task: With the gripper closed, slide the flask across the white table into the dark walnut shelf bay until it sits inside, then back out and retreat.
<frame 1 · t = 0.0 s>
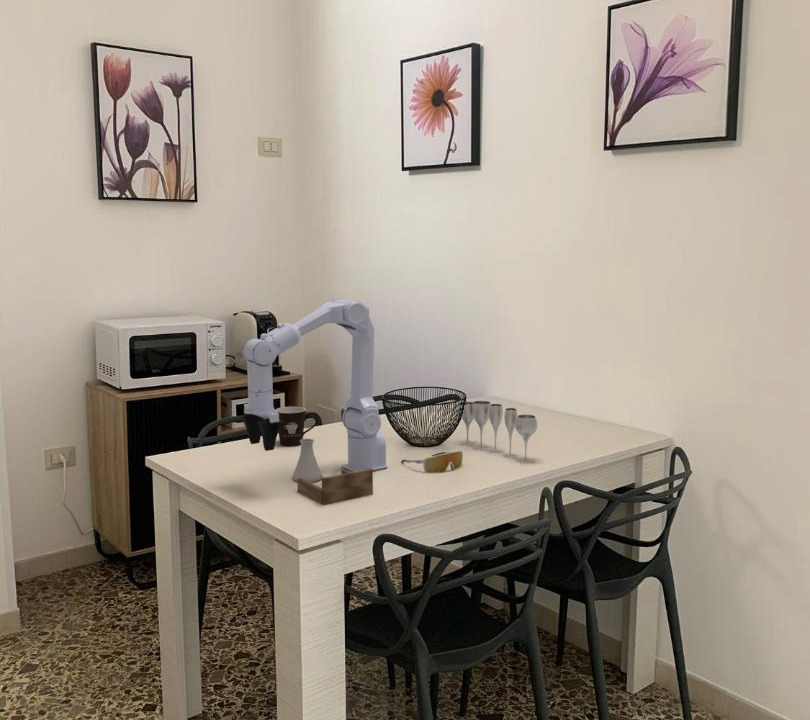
hand: (262, 446, 196), 10 cm above the table, fingers open, 7 cm apart
goblet set: (496, 452, 230), on the table
coffee mug: (296, 444, 238), on the table
shelf bay: (334, 492, 194), on the table
flask: (307, 480, 205), on the table
sunglasses: (433, 466, 217), on the table
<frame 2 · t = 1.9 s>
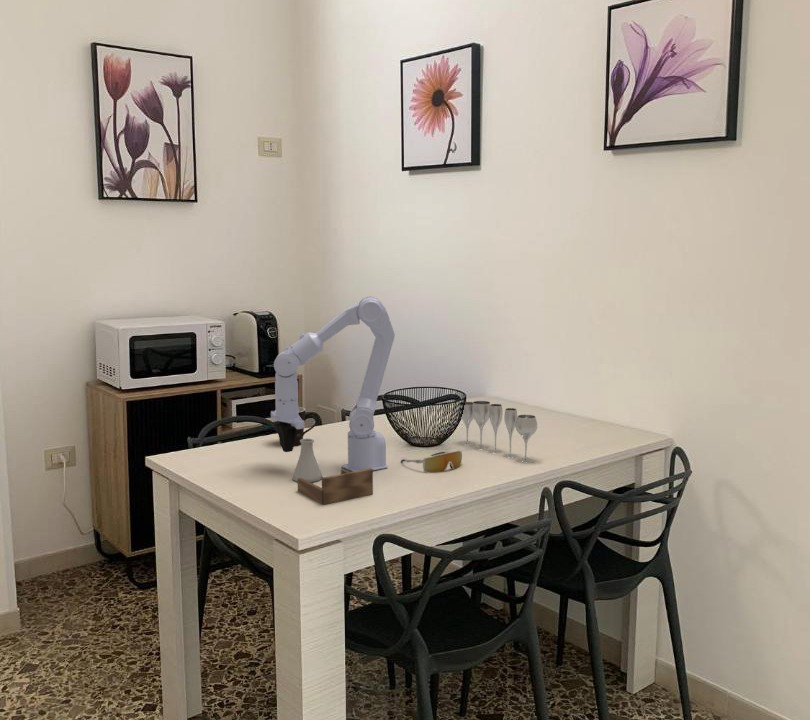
hand: (287, 451, 212), 5 cm above the table, fingers closed
nothing on the table moved.
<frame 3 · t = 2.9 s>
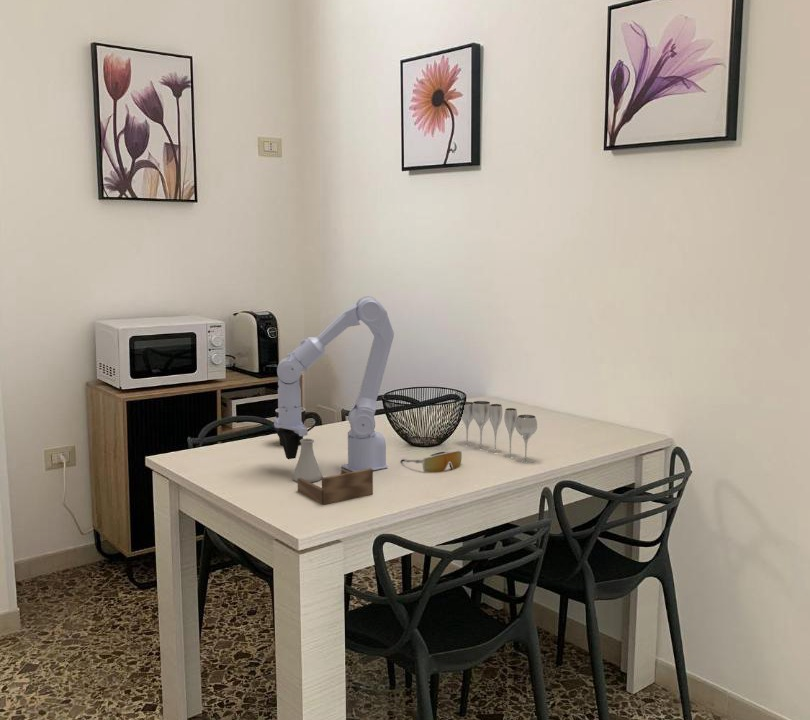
hand: (291, 458, 211), 3 cm above the table, fingers closed
nothing on the table moved.
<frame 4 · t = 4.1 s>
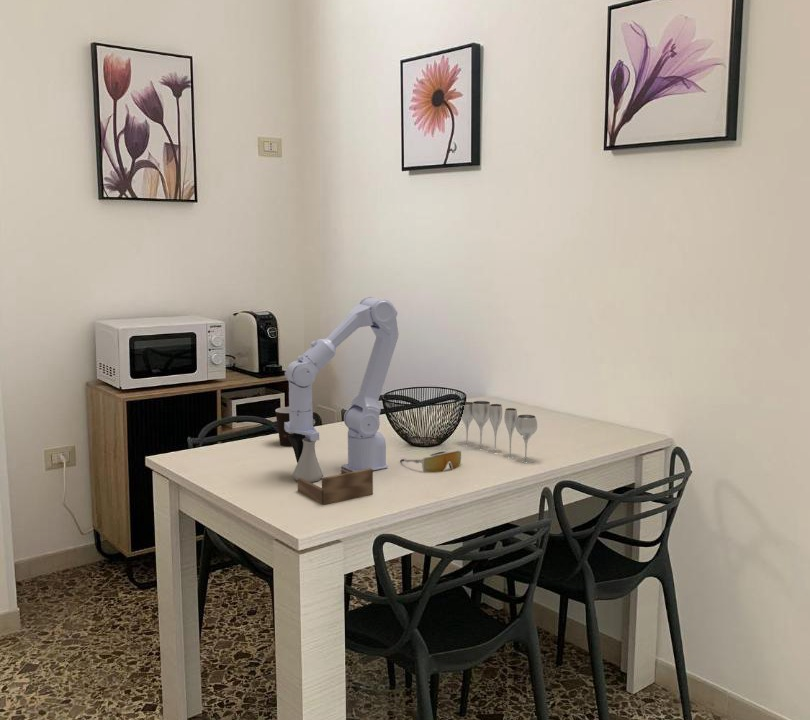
hand: (302, 463, 206), 3 cm above the table, fingers closed
flask: (307, 477, 205), on the table, touching gripper
everything else where it was.
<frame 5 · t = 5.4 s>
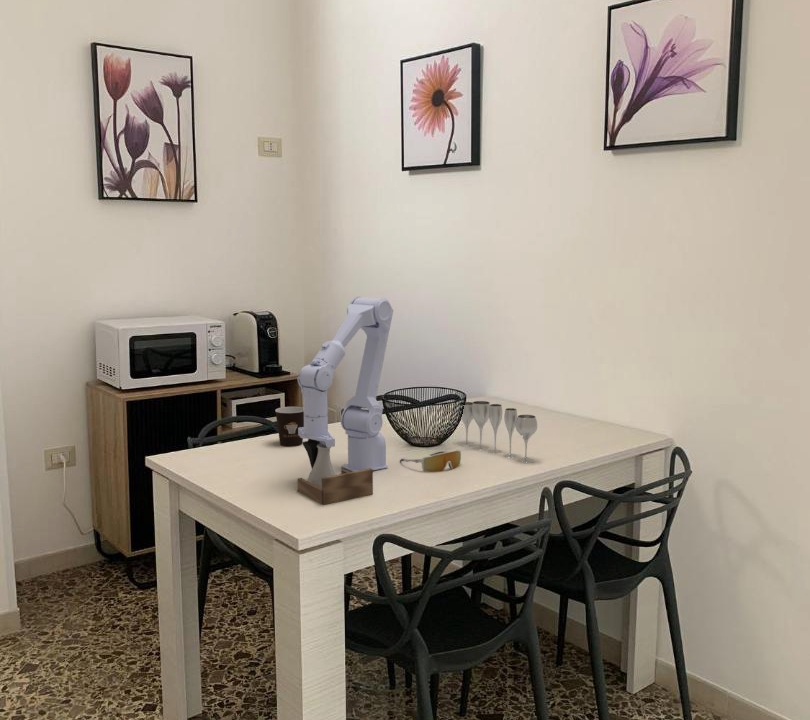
hand: (316, 470, 200), 3 cm above the table, fingers closed
flask: (321, 484, 199), on the table, touching gripper
everything else where it was.
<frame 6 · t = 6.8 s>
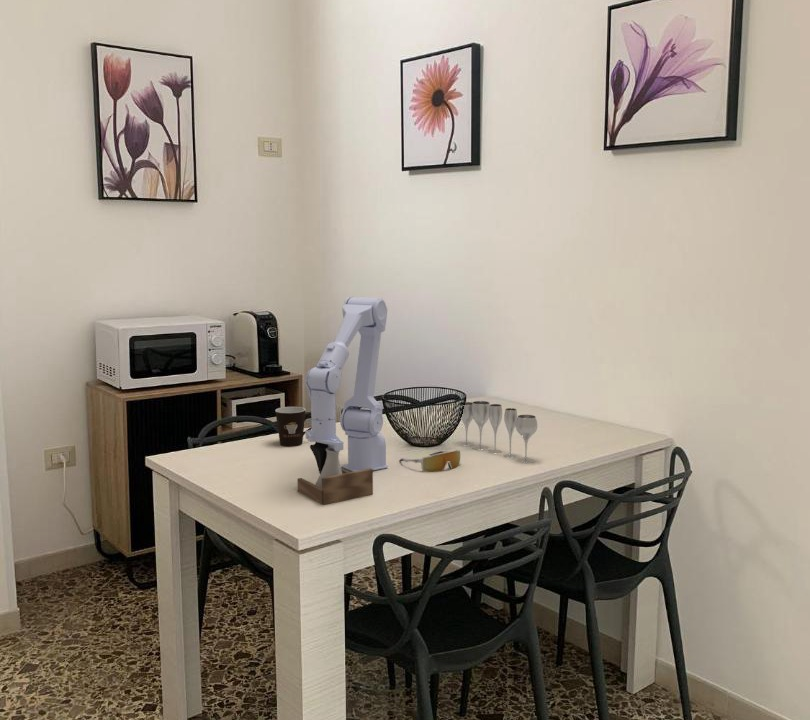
hand: (324, 473, 197), 3 cm above the table, fingers closed
flask: (330, 489, 196), on the table, touching gripper
everything else where it was.
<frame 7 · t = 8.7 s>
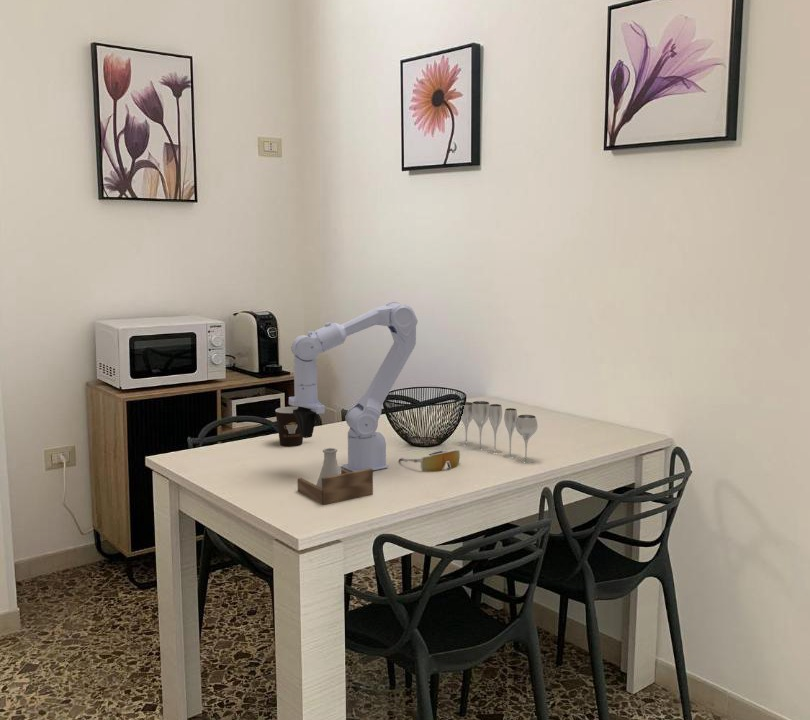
hand: (307, 437, 208), 9 cm above the table, fingers closed
flask: (330, 491, 196), on the table
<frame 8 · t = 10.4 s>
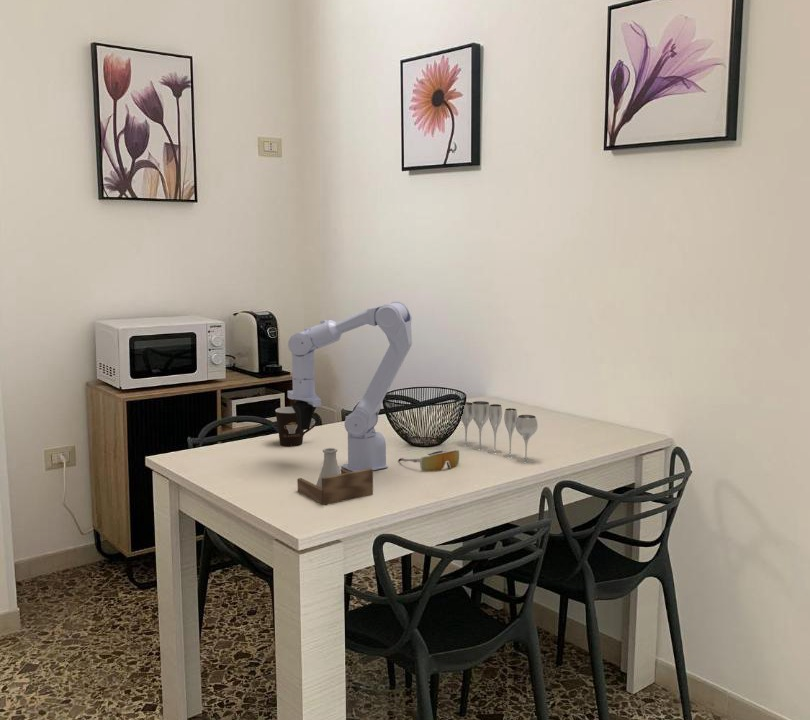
hand: (304, 429, 216), 9 cm above the table, fingers closed
at the end: flask inside the target area on the shelf bay (1.7 cm from its centre), point 0.0 cm above the shelf bay's base; flask tilted 0°; the gripper is holding nothing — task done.
